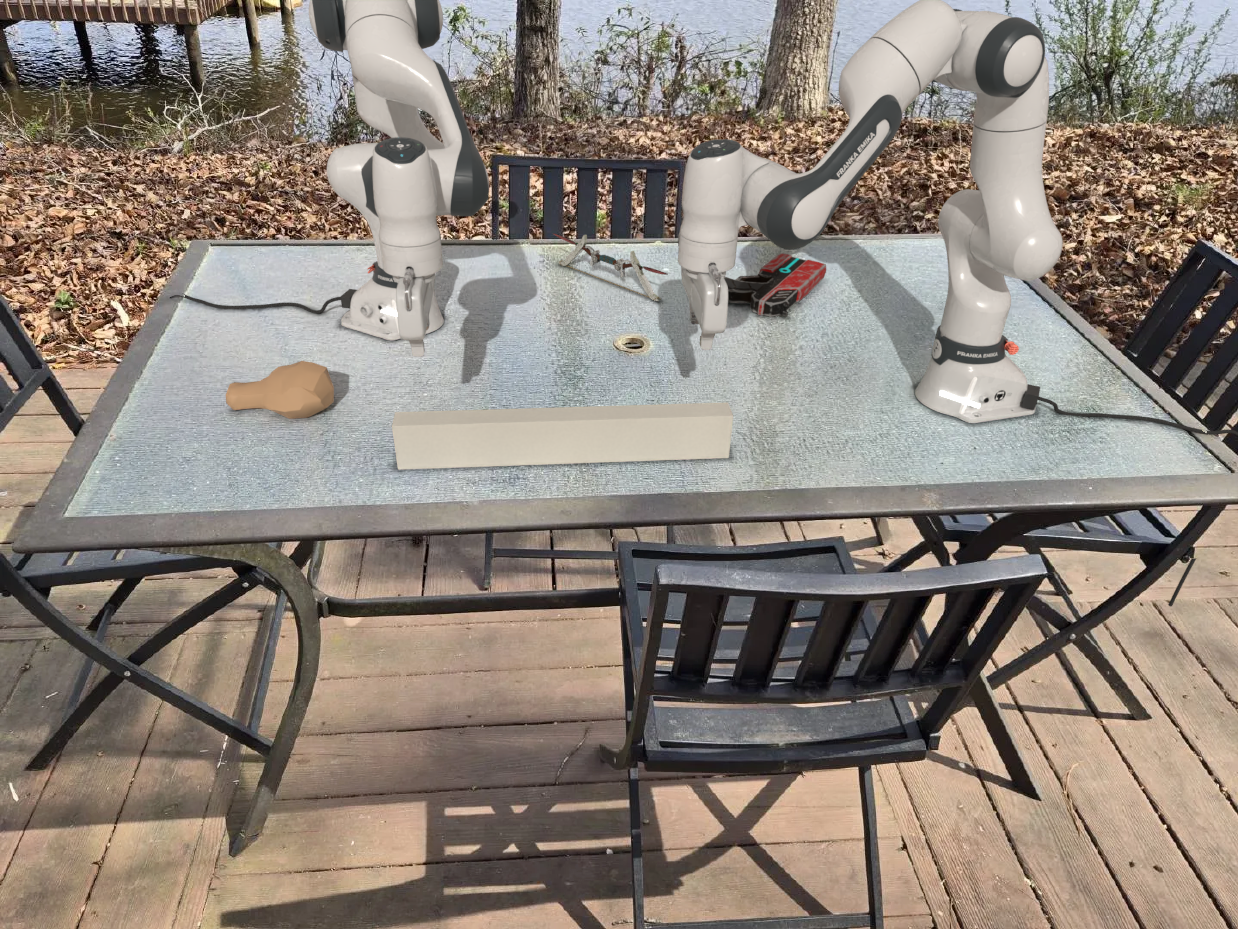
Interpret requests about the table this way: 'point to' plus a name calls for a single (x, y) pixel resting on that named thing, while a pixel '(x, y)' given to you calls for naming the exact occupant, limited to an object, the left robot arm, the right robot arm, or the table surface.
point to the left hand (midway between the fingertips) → (421, 341)
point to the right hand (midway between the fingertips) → (700, 334)
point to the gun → (776, 285)
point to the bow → (618, 264)
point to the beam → (561, 435)
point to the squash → (286, 391)
